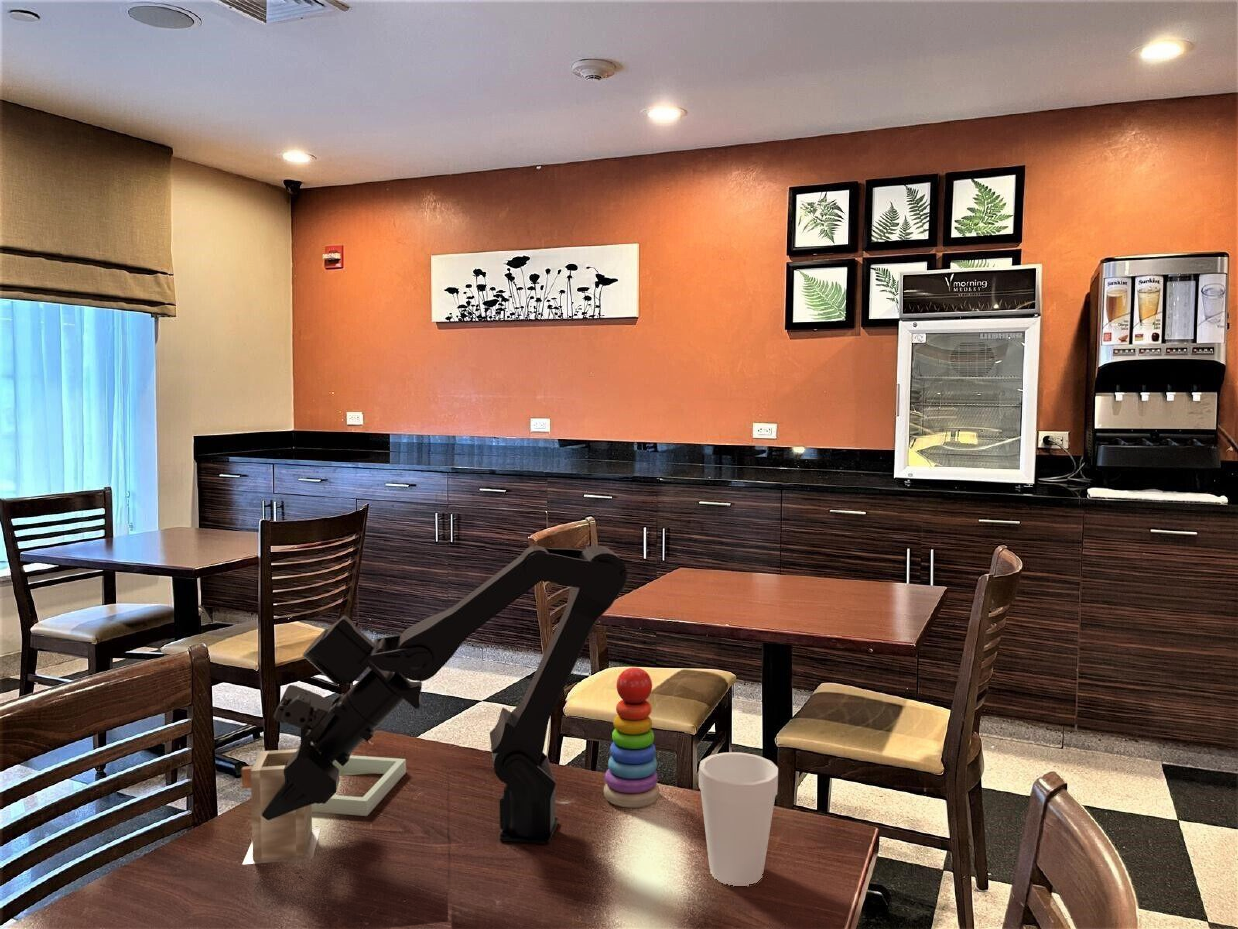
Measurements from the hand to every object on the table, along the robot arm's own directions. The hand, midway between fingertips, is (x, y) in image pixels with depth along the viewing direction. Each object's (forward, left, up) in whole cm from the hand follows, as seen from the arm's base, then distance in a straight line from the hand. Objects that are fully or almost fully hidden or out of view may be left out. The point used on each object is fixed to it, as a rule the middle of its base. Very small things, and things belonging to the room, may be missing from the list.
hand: (272, 800), depth 111 cm
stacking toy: (-42, -22, -7) cm, 48 cm away
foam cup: (-57, -4, -7) cm, 58 cm away
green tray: (-2, -16, -7) cm, 18 cm away
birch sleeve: (-1, 0, -6) cm, 6 cm away
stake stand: (-1, 0, -7) cm, 7 cm away
